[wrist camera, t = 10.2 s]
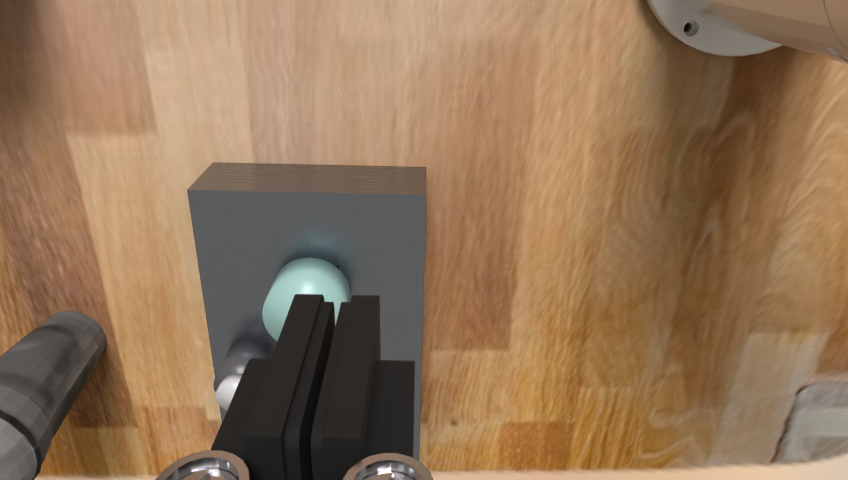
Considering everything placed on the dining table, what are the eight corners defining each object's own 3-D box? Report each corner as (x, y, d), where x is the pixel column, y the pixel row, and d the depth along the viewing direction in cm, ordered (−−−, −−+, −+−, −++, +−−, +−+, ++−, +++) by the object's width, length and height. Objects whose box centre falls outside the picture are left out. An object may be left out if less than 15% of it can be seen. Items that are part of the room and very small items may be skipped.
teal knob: (356, 226, 43) (343, 282, 35) (358, 287, 45) (346, 352, 38) (285, 224, 42) (258, 280, 35) (290, 286, 45) (266, 350, 37)
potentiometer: (270, 340, 41) (255, 378, 38) (274, 377, 43) (260, 417, 39) (224, 339, 41) (205, 377, 38) (229, 376, 42) (212, 416, 39)
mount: (425, 167, 41) (426, 194, 37) (418, 443, 52) (418, 491, 47) (212, 162, 41) (187, 189, 37) (248, 440, 52) (232, 488, 47)
